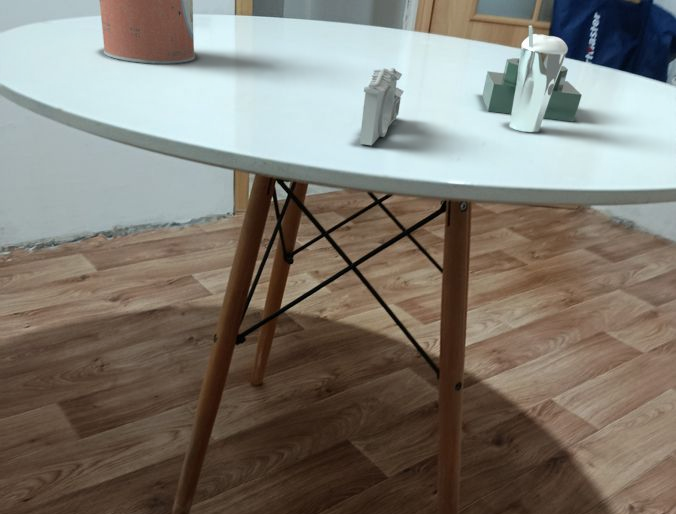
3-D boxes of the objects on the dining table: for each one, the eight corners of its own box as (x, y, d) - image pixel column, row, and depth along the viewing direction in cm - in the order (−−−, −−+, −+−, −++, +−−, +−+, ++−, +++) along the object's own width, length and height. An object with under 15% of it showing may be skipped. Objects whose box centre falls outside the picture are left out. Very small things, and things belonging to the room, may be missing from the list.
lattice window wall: (383, 116, 67) (391, 55, 64) (400, 119, 67) (409, 58, 63) (355, 145, 57) (363, 75, 54) (374, 148, 57) (384, 78, 53)
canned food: (193, 66, 78) (190, -48, 72) (97, 59, 76) (84, -59, 70) (196, 50, 87) (193, -53, 81) (110, 43, 85) (100, -63, 79)
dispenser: (560, 106, 80) (572, 63, 77) (573, 121, 74) (587, 76, 71) (482, 96, 81) (491, 53, 78) (487, 111, 74) (498, 64, 71)
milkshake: (489, 125, 68) (512, 21, 63) (520, 121, 71) (545, 22, 66) (522, 136, 65) (549, 29, 60) (553, 132, 68) (582, 29, 63)
